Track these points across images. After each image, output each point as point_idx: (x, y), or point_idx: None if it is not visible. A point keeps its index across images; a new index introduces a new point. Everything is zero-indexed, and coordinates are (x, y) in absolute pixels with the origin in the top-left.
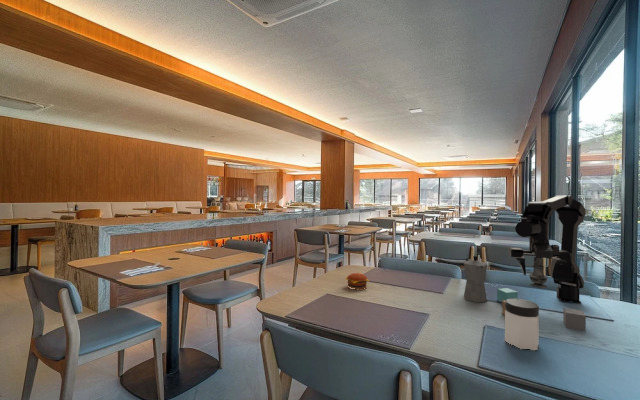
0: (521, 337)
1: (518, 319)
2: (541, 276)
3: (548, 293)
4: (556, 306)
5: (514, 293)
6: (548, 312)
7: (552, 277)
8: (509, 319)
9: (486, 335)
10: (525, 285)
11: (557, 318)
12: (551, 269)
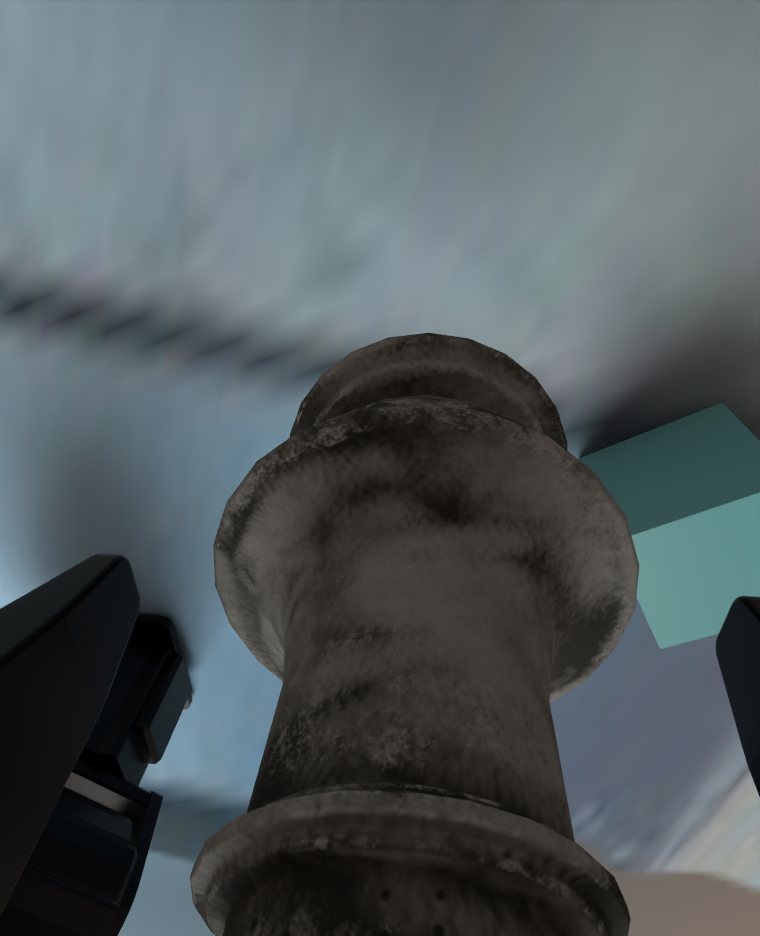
0: None
1: None
2: (381, 504)
3: (234, 746)
4: (231, 495)
5: (652, 514)
6: (342, 292)
7: (115, 556)
8: None
9: None
10: None
11: (295, 96)
12: (24, 803)
